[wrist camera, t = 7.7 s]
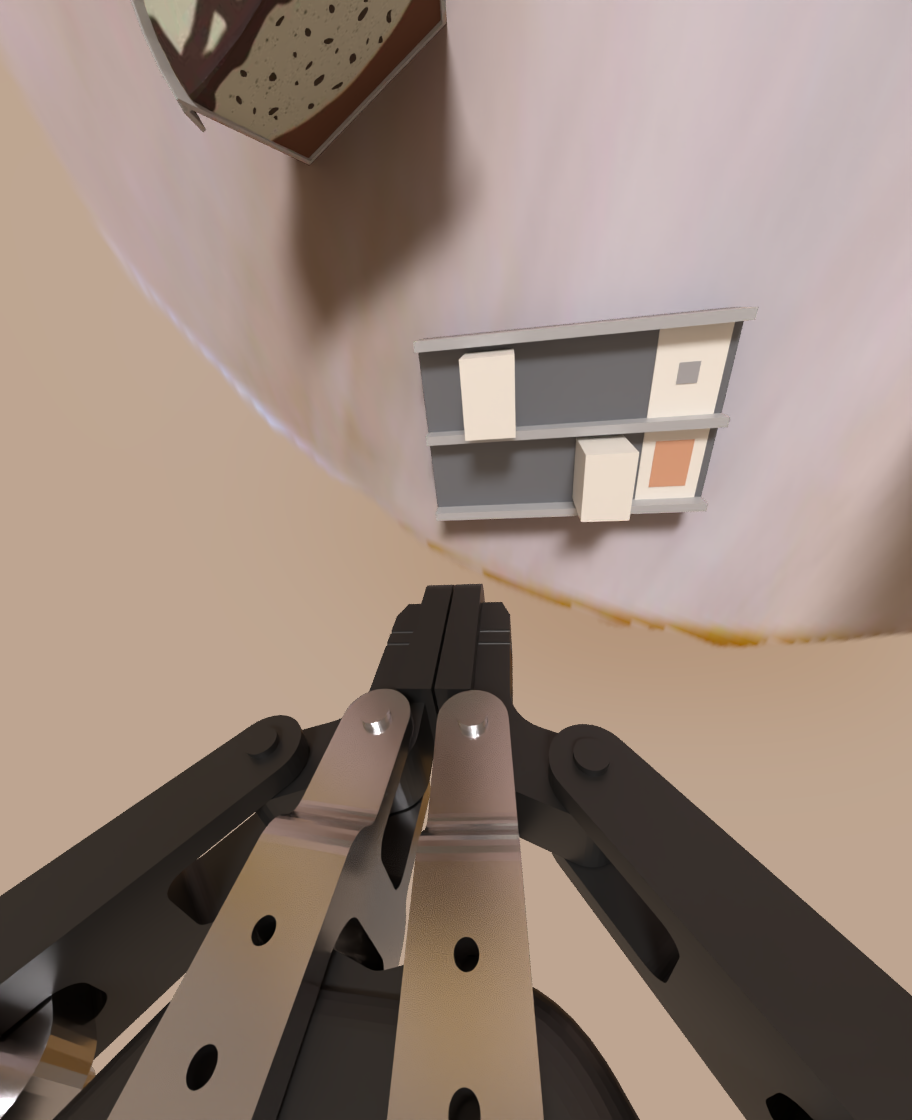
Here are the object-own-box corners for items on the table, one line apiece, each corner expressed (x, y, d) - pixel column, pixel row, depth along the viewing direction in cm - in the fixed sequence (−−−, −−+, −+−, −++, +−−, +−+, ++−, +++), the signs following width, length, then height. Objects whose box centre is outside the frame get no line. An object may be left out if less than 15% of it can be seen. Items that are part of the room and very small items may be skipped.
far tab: (622, 434, 27) (639, 452, 23) (614, 495, 29) (629, 520, 25) (576, 437, 27) (585, 455, 24) (572, 497, 29) (580, 522, 26)
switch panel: (730, 307, 24) (758, 306, 21) (688, 493, 30) (706, 511, 28) (422, 338, 27) (413, 341, 24) (442, 503, 33) (436, 520, 30)
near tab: (513, 348, 25) (514, 354, 21) (514, 421, 27) (515, 437, 24) (465, 353, 25) (458, 359, 22) (470, 424, 27) (465, 440, 24)
